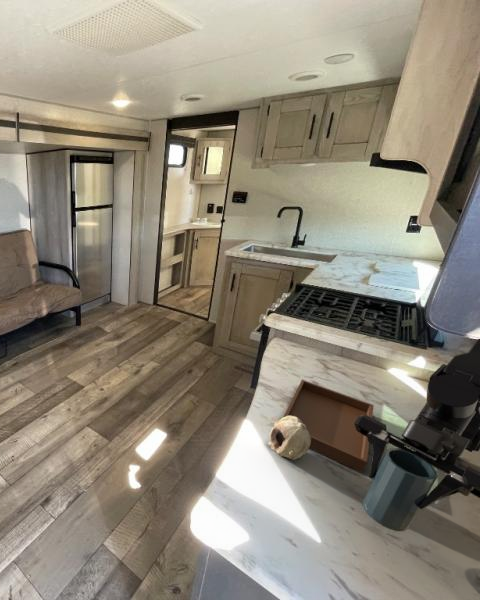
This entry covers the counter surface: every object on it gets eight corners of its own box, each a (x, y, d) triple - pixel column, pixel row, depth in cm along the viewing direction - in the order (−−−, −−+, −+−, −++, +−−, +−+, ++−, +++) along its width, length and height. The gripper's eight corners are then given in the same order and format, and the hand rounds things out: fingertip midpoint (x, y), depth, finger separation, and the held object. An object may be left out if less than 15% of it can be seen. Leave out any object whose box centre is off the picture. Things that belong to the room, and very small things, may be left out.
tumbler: (363, 491, 66) (386, 442, 61) (407, 513, 62) (436, 462, 57) (360, 514, 61) (385, 463, 57) (408, 539, 57) (439, 486, 52)
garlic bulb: (273, 444, 85) (279, 407, 84) (312, 459, 78) (318, 419, 78) (261, 453, 78) (267, 413, 78) (302, 470, 72) (309, 427, 72)
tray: (299, 388, 104) (301, 379, 103) (369, 414, 93) (373, 404, 92) (277, 433, 85) (280, 423, 84) (362, 472, 74) (367, 462, 73)
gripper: (374, 379, 62) (329, 445, 61) (531, 445, 47) (476, 533, 46) (378, 400, 69) (337, 459, 68) (516, 463, 54) (467, 541, 53)
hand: (393, 492), depth 58 cm, fingers closed on tumbler, 7 cm apart
